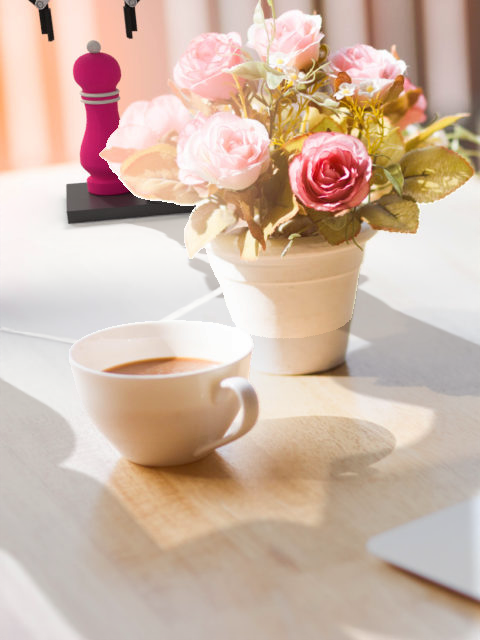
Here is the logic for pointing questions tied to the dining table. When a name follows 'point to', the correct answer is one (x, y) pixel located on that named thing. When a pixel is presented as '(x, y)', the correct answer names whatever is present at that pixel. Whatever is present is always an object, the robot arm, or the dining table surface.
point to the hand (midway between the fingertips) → (90, 38)
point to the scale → (113, 206)
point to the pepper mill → (98, 116)
